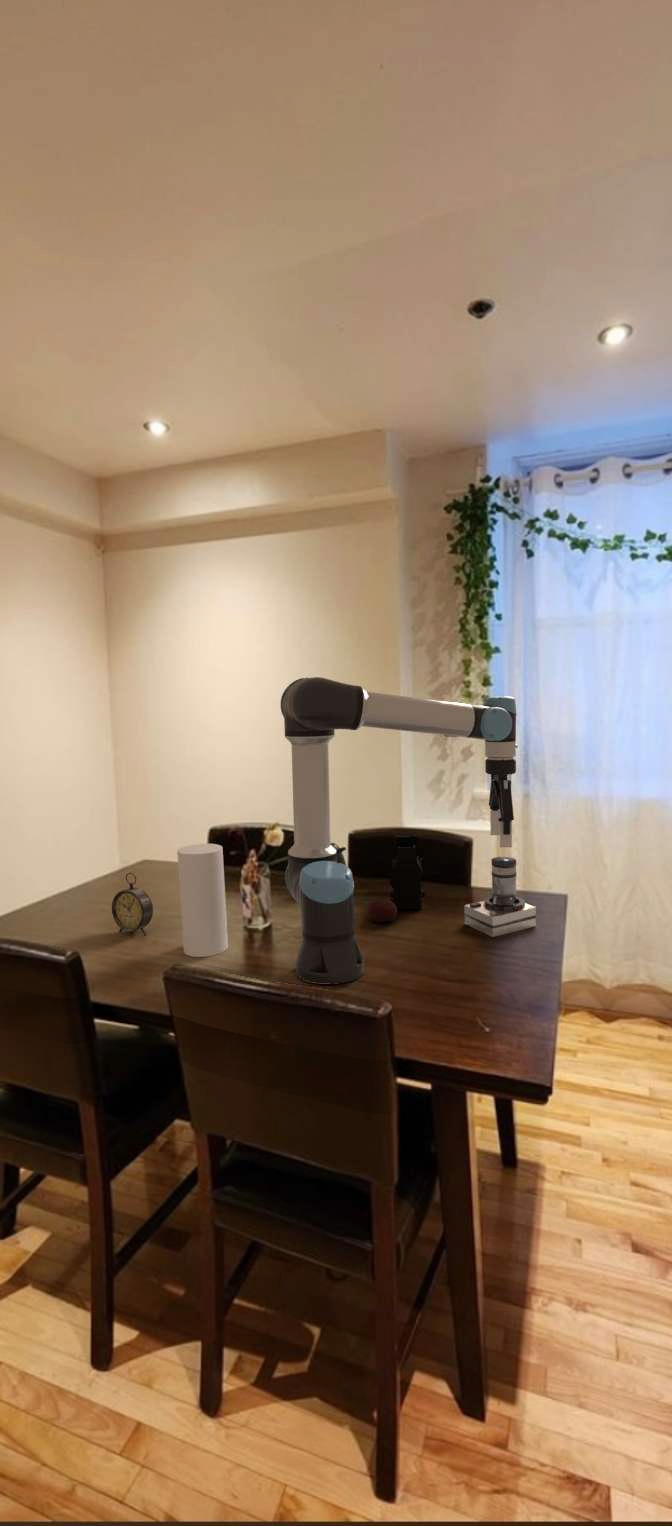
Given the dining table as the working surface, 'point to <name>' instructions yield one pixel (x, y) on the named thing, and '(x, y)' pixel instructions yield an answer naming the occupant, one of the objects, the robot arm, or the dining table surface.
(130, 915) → the alarm clock
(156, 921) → the dining table surface
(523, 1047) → the dining table surface
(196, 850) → the tall pillar cylinder
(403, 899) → the camera
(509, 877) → the lens
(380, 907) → the potato
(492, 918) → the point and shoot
